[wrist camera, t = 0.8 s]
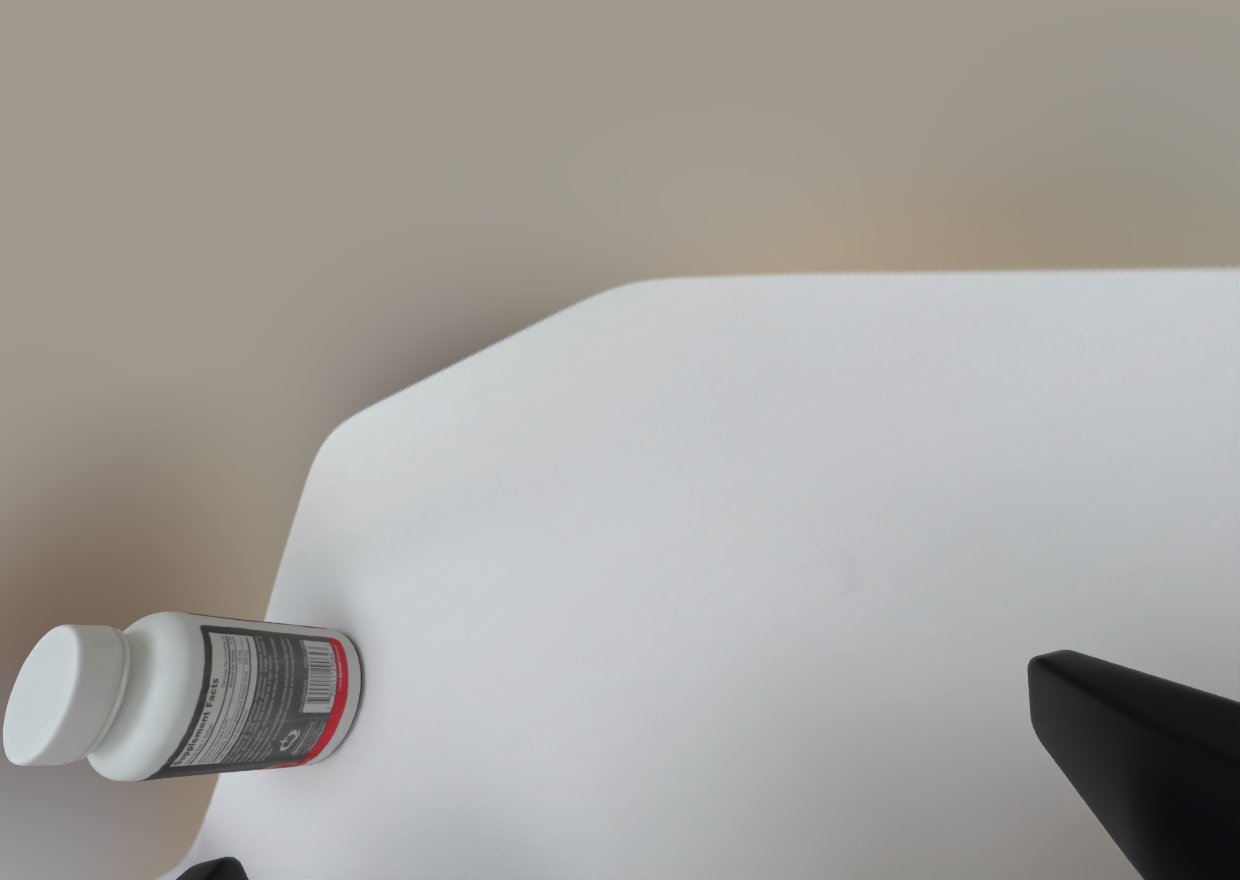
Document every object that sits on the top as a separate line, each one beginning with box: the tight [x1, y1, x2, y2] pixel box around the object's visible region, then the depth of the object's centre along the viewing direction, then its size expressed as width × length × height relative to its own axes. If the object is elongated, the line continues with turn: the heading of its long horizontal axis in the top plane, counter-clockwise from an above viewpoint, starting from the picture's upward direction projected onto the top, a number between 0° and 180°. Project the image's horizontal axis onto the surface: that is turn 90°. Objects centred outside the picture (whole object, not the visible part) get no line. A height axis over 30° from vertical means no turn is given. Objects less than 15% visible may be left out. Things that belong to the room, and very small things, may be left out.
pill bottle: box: [3, 612, 361, 781], centre depth 23 cm, size 5×5×10 cm
